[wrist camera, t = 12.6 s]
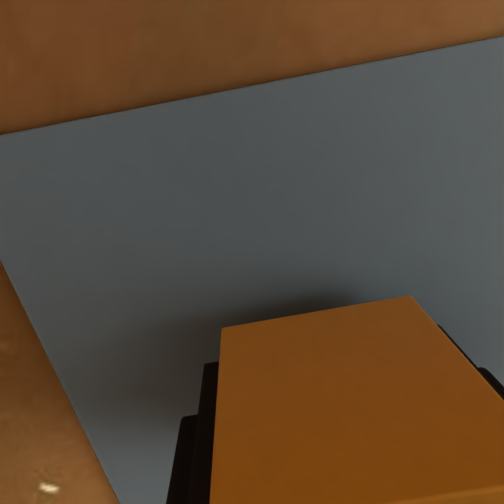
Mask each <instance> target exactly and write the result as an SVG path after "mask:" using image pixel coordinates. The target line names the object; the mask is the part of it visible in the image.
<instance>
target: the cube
mask: <svg viewBox="0 0 504 504" xmlns="http://www.w3.org/2000/svg"><path fill="white" fill-rule="evenodd" d="M209 504H504V400H503V399H502V398H501V397H500V396H499V395H498V394H497V392H496V391H495V390H494V389H493V388H492V387H491V386H490V384H489V383H488V382H487V381H486V380H485V379H484V378H483V377H482V375H481V374H480V373H479V372H478V371H477V370H476V369H475V368H474V366H473V365H472V364H471V363H470V362H469V361H468V360H467V358H466V357H465V356H464V355H463V354H462V353H461V352H460V351H459V349H458V348H457V347H456V346H455V345H454V344H453V343H452V342H451V340H450V339H449V338H448V337H447V336H446V335H445V334H444V333H443V331H442V330H441V329H440V328H439V327H438V326H437V325H436V323H435V322H434V321H433V320H432V319H431V318H430V317H429V316H428V314H427V313H426V312H425V311H424V310H423V309H422V308H421V307H420V305H419V304H418V303H417V302H416V301H415V300H414V299H413V297H412V296H410V295H407V296H401V297H396V298H390V299H384V300H379V301H373V302H367V303H361V304H356V305H350V306H344V307H339V308H333V309H327V310H321V311H316V312H310V313H304V314H298V315H293V316H287V317H281V318H276V319H270V320H264V321H258V322H253V323H247V324H241V325H236V326H230V327H224V328H222V330H221V342H220V357H219V371H218V386H217V401H216V415H215V430H214V444H213V459H212V474H211V488H210V503H209Z"/></svg>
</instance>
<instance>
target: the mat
mask: <svg viewBox="0 0 504 504" xmlns="http://www.w3.org/2000/svg"><path fill="white" fill-rule="evenodd" d="M0 261H1V263H2V265H3V267H4V269H5V271H6V273H7V275H8V277H9V279H10V281H11V283H12V285H13V288H14V290H15V292H16V294H17V296H18V298H19V300H20V302H21V304H22V306H23V308H24V310H25V312H26V314H27V316H28V318H29V320H30V322H31V324H32V326H33V328H34V330H35V332H36V334H37V336H38V338H39V340H40V342H41V344H42V346H43V348H44V351H45V353H46V355H47V357H48V359H49V361H50V363H51V365H52V367H53V369H54V371H55V373H56V375H57V377H58V379H59V381H60V383H61V385H62V387H63V389H64V391H65V393H66V395H67V397H68V399H69V401H70V403H71V405H72V407H73V409H74V411H75V414H76V416H77V418H78V420H79V422H80V424H81V426H82V428H83V430H84V432H85V434H86V436H87V438H88V440H89V442H90V444H91V446H92V448H93V450H94V452H95V454H96V456H97V458H98V460H99V462H100V464H101V466H102V468H103V470H104V472H105V474H106V477H107V479H108V481H109V483H110V485H111V487H112V489H113V491H114V493H115V495H116V497H117V499H118V501H119V503H120V504H166V501H167V495H168V489H169V484H170V478H171V472H172V467H173V461H174V455H175V449H176V444H177V438H178V432H179V427H180V422H181V419H182V417H184V416H190V415H196V414H198V408H199V400H200V392H201V384H202V376H203V368H204V364H205V363H211V362H217V361H219V357H220V342H221V330H222V328H224V327H230V326H236V325H241V324H247V323H253V322H258V321H264V320H270V319H276V318H281V317H287V316H293V315H298V314H304V313H310V312H316V311H321V310H327V309H333V308H339V307H344V306H350V305H356V304H361V303H367V302H373V301H379V300H384V299H390V298H396V297H401V296H407V295H410V296H412V297H413V299H414V300H415V301H416V302H417V303H418V304H419V305H420V307H421V308H422V309H423V310H424V311H425V312H426V313H427V314H428V316H429V317H430V318H431V319H432V320H433V321H434V322H435V323H436V324H439V325H440V326H441V327H442V328H443V329H444V330H445V331H446V332H447V334H448V335H449V336H450V337H451V338H452V339H453V340H454V341H455V343H456V344H457V345H458V346H459V347H460V348H461V349H462V350H463V351H464V353H465V354H466V355H467V356H468V357H469V358H470V359H471V360H472V362H473V363H474V364H475V365H476V366H477V367H478V368H479V367H483V368H485V369H487V370H488V371H489V372H490V373H492V375H493V376H494V377H495V378H496V379H497V380H498V381H499V382H500V383H501V384H502V385H503V386H504V36H500V37H495V38H489V39H484V40H479V41H474V42H469V43H464V44H459V45H454V46H449V47H444V48H439V49H434V50H429V51H423V52H418V53H413V54H408V55H403V56H398V57H393V58H388V59H383V60H378V61H373V62H368V63H363V64H358V65H352V66H347V67H342V68H337V69H332V70H327V71H322V72H317V73H312V74H307V75H302V76H297V77H292V78H286V79H281V80H276V81H271V82H266V83H261V84H256V85H251V86H246V87H241V88H236V89H231V90H226V91H221V92H215V93H210V94H205V95H200V96H195V97H190V98H185V99H180V100H175V101H170V102H165V103H160V104H155V105H149V106H144V107H139V108H134V109H129V110H124V111H119V112H114V113H109V114H104V115H99V116H94V117H89V118H84V119H78V120H73V121H68V122H63V123H58V124H53V125H48V126H43V127H38V128H33V129H28V130H23V131H18V132H12V133H7V134H2V135H0Z"/></svg>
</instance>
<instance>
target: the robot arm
mask: <svg viewBox="0 0 504 504" xmlns="http://www.w3.org/2000/svg"><path fill="white" fill-rule="evenodd" d="M436 325H437V326H438V327H439V328H440V329H441V330H442V331H443V333H444V334H445V335H446V336H447V337H448V338H449V339H450V340H451V342H452V343H453V344H454V345H455V346H456V347H457V348H458V349H459V351H460V352H461V353H462V354H463V355H464V356H465V357H466V358H467V360H468V361H469V362H470V363H471V364H472V365H473V366H474V368H475V369H476V370H477V371H478V372H479V373H480V374H481V375H482V377H483V378H484V379H485V380H486V381H487V382H488V383H489V384H490V386H491V387H492V388H493V389H494V390H495V391H496V392H497V394H498V395H499V396H500V397H501V398H502V399H503V400H504V386H503V385H502V384H501V383H500V382H499V381H498V380H497V379H496V378H495V377H494V376H493V375H492V373H490V372H489V371H488V370H487V369H485V368H483V367H479V368H478V367H477V366H476V365H475V364H474V363H473V362H472V360H471V359H470V358H469V357H468V356H467V355H466V354H465V353H464V351H463V350H462V349H461V348H460V347H459V346H458V345H457V344H456V343H455V341H454V340H453V339H452V338H451V337H450V336H449V335H448V334H447V332H446V331H445V330H444V329H443V328H442V327H441V326H440V325H439V324H436ZM218 371H219V361H217V362H211V363H205V364H204V368H203V376H202V384H201V392H200V400H199V408H198V414H196V415H190V416H184V417H182V419H181V422H180V427H179V432H178V438H177V444H176V449H175V455H174V461H173V467H172V472H171V478H170V484H169V489H168V495H167V501H166V504H209V503H210V488H211V474H212V459H213V444H214V430H215V415H216V401H217V386H218Z"/></svg>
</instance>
